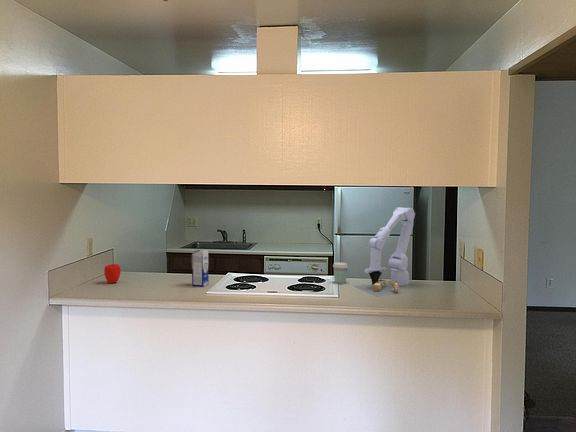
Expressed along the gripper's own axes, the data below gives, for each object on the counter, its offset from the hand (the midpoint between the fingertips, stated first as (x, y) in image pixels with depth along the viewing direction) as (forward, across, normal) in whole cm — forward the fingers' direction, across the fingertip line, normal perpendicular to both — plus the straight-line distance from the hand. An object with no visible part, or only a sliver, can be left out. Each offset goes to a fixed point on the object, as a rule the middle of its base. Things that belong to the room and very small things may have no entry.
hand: (374, 285), depth 243 cm
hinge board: (+2, +2, +5) cm, 6 cm away
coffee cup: (+3, +6, -20) cm, 21 cm away
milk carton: (+5, +71, -64) cm, 96 cm away
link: (+1, 0, +3) cm, 3 cm away
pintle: (-2, -5, 0) cm, 6 cm away
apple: (+6, +109, -100) cm, 148 cm away
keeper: (+1, 0, +13) cm, 13 cm away
